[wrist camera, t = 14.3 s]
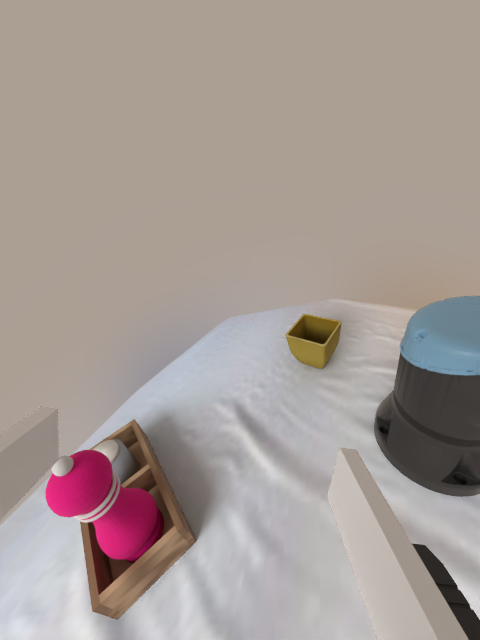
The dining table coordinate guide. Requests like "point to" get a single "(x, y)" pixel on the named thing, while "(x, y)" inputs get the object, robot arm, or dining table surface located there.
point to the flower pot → (313, 339)
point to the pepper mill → (105, 504)
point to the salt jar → (119, 458)
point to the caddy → (136, 578)
